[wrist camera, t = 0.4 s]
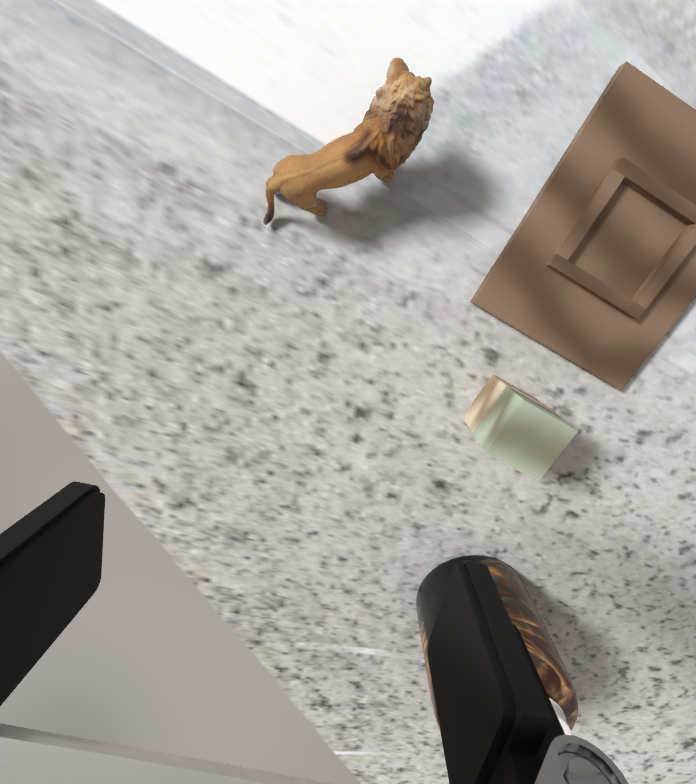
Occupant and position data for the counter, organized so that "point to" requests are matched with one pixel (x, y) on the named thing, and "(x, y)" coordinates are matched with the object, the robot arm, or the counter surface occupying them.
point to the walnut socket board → (607, 235)
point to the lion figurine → (359, 144)
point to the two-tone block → (517, 428)
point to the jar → (520, 616)
